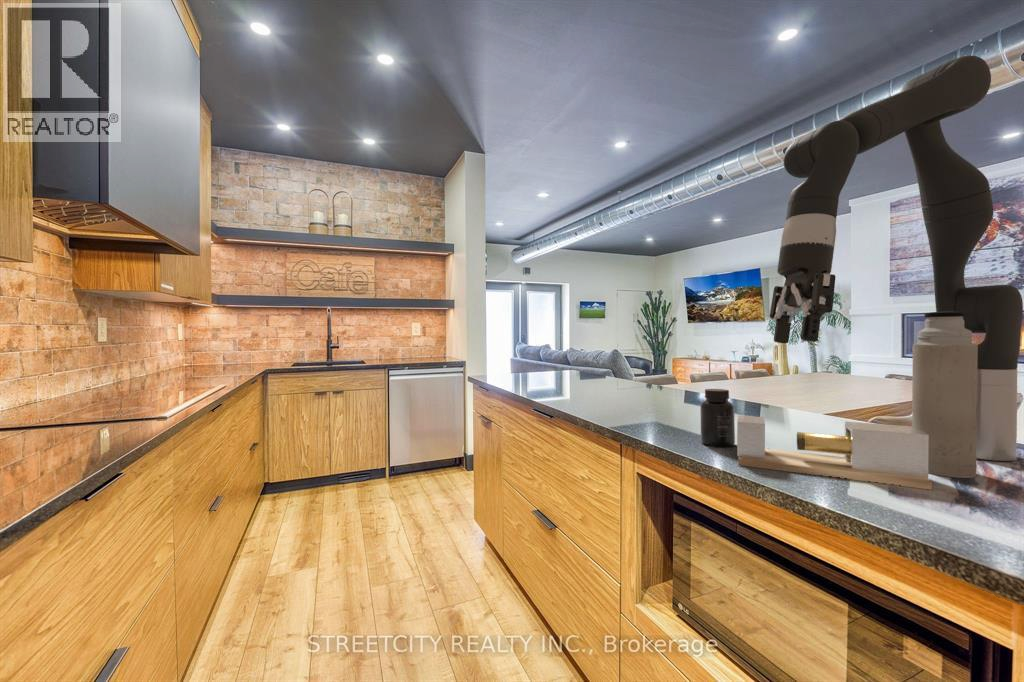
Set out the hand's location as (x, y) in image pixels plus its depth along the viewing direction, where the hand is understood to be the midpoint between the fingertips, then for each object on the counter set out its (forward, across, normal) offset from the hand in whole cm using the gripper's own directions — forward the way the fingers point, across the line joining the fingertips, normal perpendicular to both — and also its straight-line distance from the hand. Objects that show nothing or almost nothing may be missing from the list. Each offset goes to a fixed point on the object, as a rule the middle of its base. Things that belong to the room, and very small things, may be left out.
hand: (793, 342), depth 71 cm
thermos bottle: (+18, +8, -31) cm, 37 cm away
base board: (+21, +7, -11) cm, 25 cm away
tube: (+18, +5, -15) cm, 24 cm away
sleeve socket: (+20, +7, -11) cm, 24 cm away
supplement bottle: (+22, +23, +1) cm, 32 cm away
